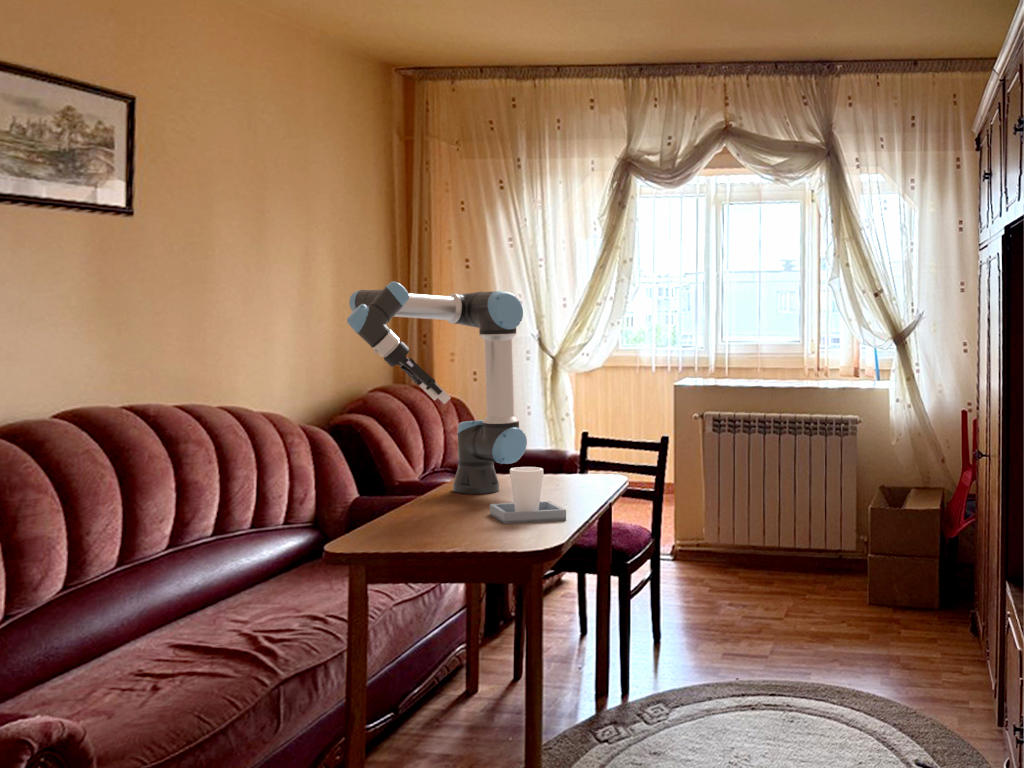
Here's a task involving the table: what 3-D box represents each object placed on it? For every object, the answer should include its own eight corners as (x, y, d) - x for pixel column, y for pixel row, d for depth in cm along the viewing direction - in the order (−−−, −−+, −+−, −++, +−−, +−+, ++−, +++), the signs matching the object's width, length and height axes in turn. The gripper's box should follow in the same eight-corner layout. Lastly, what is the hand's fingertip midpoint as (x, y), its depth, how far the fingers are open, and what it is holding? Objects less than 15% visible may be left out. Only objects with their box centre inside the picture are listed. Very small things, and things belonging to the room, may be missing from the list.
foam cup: (539, 518, 318) (539, 471, 317) (507, 517, 320) (507, 471, 319) (545, 512, 327) (545, 467, 326) (514, 511, 329) (514, 466, 328)
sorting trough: (489, 514, 328) (489, 504, 328) (549, 511, 333) (549, 501, 333) (504, 524, 313) (504, 513, 313) (566, 520, 318) (566, 509, 318)
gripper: (375, 356, 342) (425, 404, 347) (390, 360, 318) (443, 411, 323) (393, 338, 343) (442, 387, 348) (408, 340, 319) (461, 392, 324)
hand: (442, 399), depth 336 cm, fingers open, 13 cm apart
